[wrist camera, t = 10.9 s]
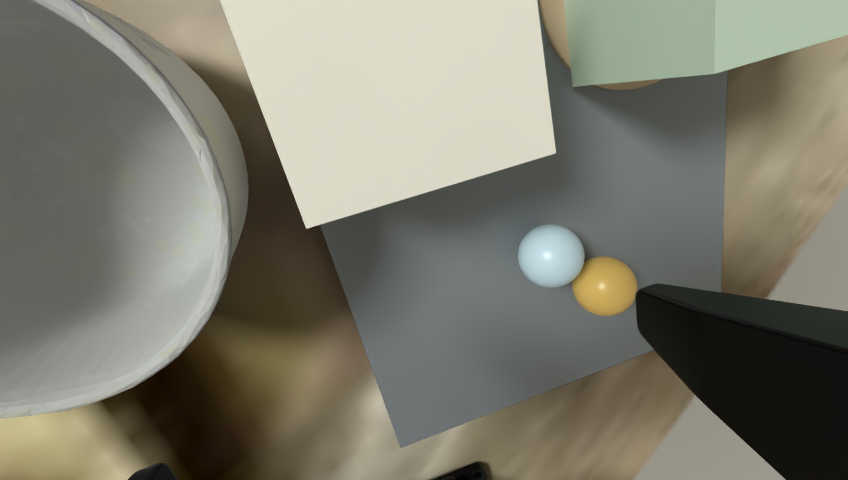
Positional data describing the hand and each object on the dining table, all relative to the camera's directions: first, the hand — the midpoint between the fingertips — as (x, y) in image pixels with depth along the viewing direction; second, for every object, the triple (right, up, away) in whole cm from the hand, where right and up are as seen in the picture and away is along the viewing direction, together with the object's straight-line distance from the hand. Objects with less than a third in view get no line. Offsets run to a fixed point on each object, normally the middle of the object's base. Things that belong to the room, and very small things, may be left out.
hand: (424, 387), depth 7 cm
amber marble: (+9, +1, +14) cm, 17 cm away
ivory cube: (-2, +9, +9) cm, 13 cm away
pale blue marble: (+6, +2, +13) cm, 14 cm away
